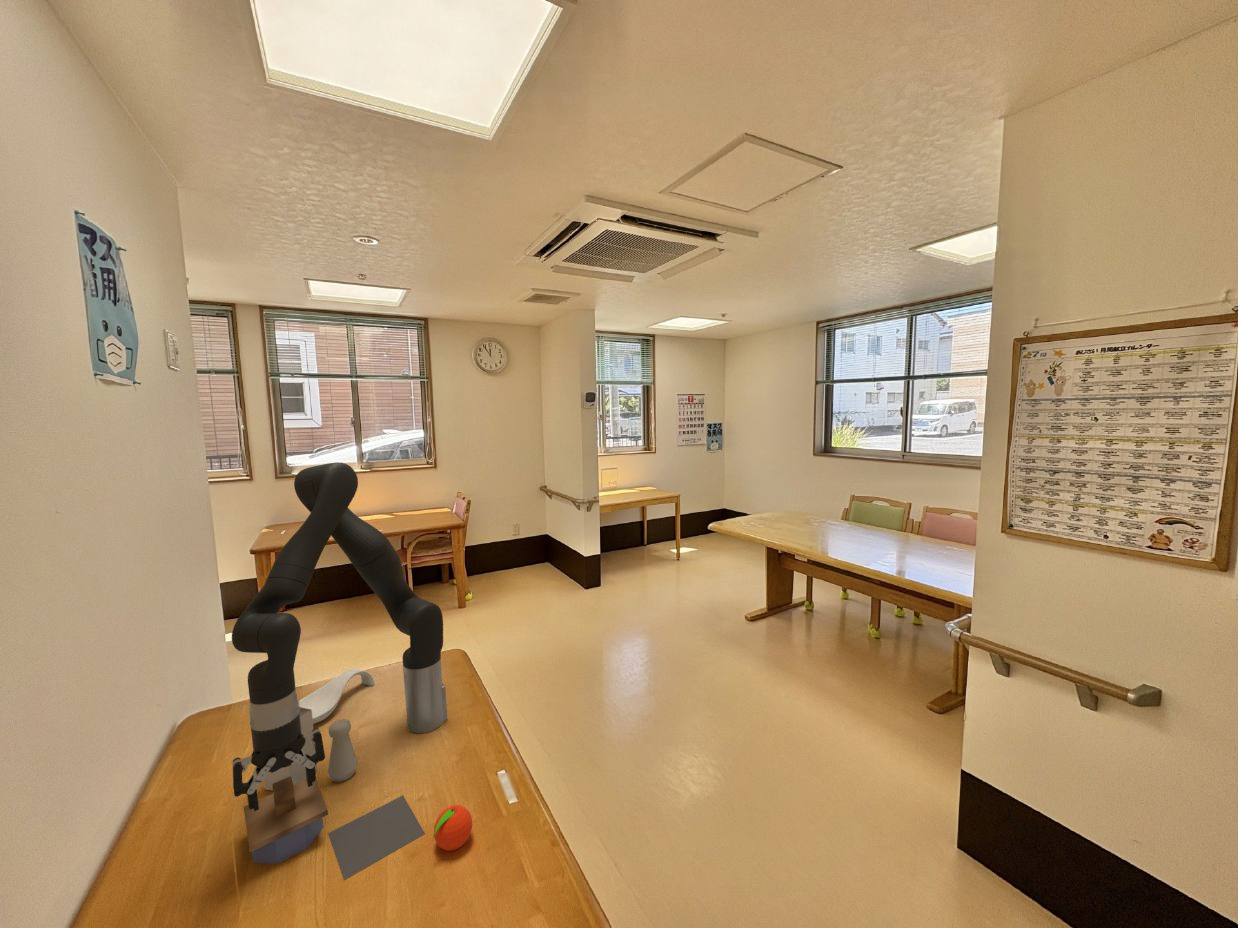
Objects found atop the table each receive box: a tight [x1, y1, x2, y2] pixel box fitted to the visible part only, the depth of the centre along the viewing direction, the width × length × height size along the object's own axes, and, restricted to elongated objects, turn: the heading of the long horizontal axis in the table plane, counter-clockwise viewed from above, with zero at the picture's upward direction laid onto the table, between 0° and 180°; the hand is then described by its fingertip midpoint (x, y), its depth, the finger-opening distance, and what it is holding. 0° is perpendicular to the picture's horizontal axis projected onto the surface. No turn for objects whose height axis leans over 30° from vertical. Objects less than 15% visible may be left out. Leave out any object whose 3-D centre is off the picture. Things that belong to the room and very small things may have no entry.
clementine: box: [432, 804, 473, 852], centre depth 92 cm, size 8×7×7 cm
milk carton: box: [263, 700, 318, 792], centre depth 109 cm, size 7×7×19 cm
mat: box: [328, 794, 426, 881], centre depth 95 cm, size 14×13×1 cm
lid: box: [243, 776, 329, 853], centre depth 94 cm, size 12×12×6 cm
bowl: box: [251, 817, 324, 865], centre depth 95 cm, size 11×11×6 cm
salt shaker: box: [327, 718, 358, 783], centre depth 110 cm, size 6×6×13 cm
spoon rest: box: [298, 668, 376, 725], centre depth 138 cm, size 24×12×7 cm, turn 159°
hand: (283, 795), depth 94 cm, fingers open, 8 cm apart
